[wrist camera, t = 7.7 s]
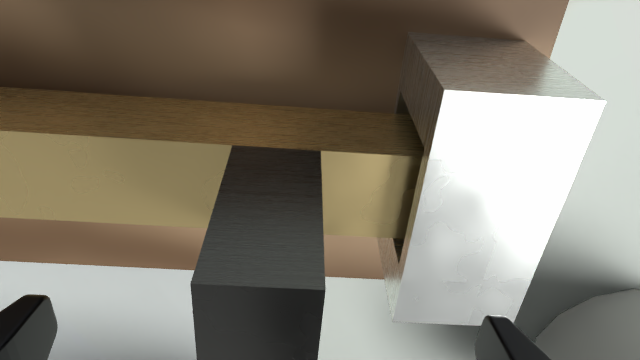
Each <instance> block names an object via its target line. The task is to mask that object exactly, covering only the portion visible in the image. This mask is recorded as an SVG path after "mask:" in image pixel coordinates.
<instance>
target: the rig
mask: <svg viewBox="0 0 640 360" xmlns="http://www.w3.org/2000/svg"><path fill="white" fill-rule="evenodd" d="M605 102H606V101H605V100H604V99H602V98H601V97H600V96H598V95H597V94H596V93H594V92H593V91H592V90H590V89H589V88H588V87H586V86H585V85H584V84H582V83H581V82H580V81H578V80H577V79H576V78H574V77H573V76H572V75H570V74H569V73H568V72H566V71H565V70H564V69H562V68H561V67H560V66H558V65H557V64H556V63H554V62H553V61H552V60H550V59H549V58H548V57H546V56H545V55H544V54H542V53H541V52H540V51H538V50H537V49H536V48H534V47H533V46H532V45H530V44H529V43H528V42H526V41H520V40H507V39H494V38H481V37H468V36H455V35H442V34H429V33H416V32H408V34H407V40H406V46H405V51H404V57H403V63H402V69H401V75H400V80H399V86H398V92H397V98H396V104H395V109H394V113H395V114H409V115H411V118H412V120H413V122H414V125H415V127H416V129H417V132H418V134H419V137H420V139H421V141H422V144H423V146H424V152H423V156H422V161H421V166H420V170H419V175H418V180H417V184H416V189H415V193H414V198H413V203H412V207H411V212H410V216H409V221H408V226H407V230H406V235H405V239H397V238H379V237H377V241H378V247H379V252H380V258H381V263H382V269H383V274H384V280H385V285H386V291H387V296H388V302H389V307H390V313H391V318H392V322H405V323H428V324H450V325H473V326H481V324H482V321H483V319H484V317H485V316H487V315H502V316H505V317H507V318H508V319H510V320H511V321H512V322H513V323H514V321H515V318H516V316H517V314H518V311H519V309H520V306H521V304H522V302H523V299H524V297H525V294H526V292H527V290H528V287H529V285H530V282H531V280H532V278H533V275H534V273H535V270H536V268H537V266H538V263H539V261H540V258H541V256H542V254H543V251H544V249H545V246H546V244H547V242H548V239H549V237H550V234H551V232H552V230H553V227H554V225H555V222H556V220H557V218H558V215H559V213H560V210H561V208H562V206H563V203H564V201H565V198H566V196H567V194H568V191H569V189H570V186H571V184H572V182H573V179H574V177H575V174H576V172H577V169H578V167H579V165H580V162H581V160H582V157H583V155H584V153H585V150H586V148H587V145H588V143H589V141H590V138H591V136H592V133H593V131H594V129H595V126H596V124H597V121H598V119H599V117H600V114H601V112H602V109H603V107H604V105H605Z"/></svg>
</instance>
